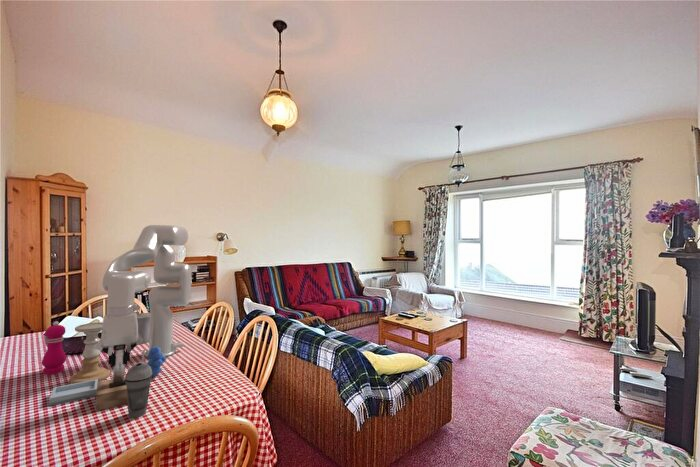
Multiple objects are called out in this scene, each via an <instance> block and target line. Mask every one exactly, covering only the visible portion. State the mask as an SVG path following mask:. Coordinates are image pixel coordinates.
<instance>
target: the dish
mask: <svg viewBox="0 0 700 467" xmlns="http://www.w3.org/2000/svg"><path fill="white" fill-rule="evenodd" d="M97 382H98V379H96V380H91V381H85V382H80V383H75V384H64V385H60V386H55V387H53V388H52V391H51V393H50V396H49V402H48V403H49V404H48V406H49V407H51V406H52V407H53V406H56V405H61V404H62V405H63V404H65V403H66V404H68V403H70V402H76V401H81V400H85V399H90V398H95V397H96V393H97Z"/></svg>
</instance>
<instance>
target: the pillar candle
mask: <svg viewBox="0 0 700 467" xmlns="http://www.w3.org/2000/svg"><path fill="white" fill-rule="evenodd" d="M136 314H137V320H138V334H139V335H140V336H141V338H142V339H143V342H142V343H140V344H139V345H142V344H147V343H149V334H150V312H141V313H136ZM130 344H132V343H130Z"/></svg>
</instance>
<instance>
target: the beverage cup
mask: <svg viewBox="0 0 700 467" xmlns="http://www.w3.org/2000/svg"><path fill="white" fill-rule="evenodd" d="M145 352H146V349H144V348H143V350H142V355H141V362H139V363H136V364H133V365H132V366H131V367H130V368H129V369H128V370H127V372H126V374H125V377H126V378H125V381H126V387H127V400H128V404H127V412H128V417H129V418H130V419H136V418H141V417H143V416H144V415H146V414H147V409H148V402H149V396H150V387H151V382H152V379H153V374H152V369H151V367H150V366H149V365H147V363H145V362H144V359H145Z"/></svg>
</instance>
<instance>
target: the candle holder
mask: <svg viewBox="0 0 700 467" xmlns="http://www.w3.org/2000/svg"><path fill="white" fill-rule="evenodd" d="M102 324H103V321H100V322H99V321H97V322H89V323H84V324H79V325H78V326H75V327H74V331H75V332H78V333H83V335H85V336H86V338H85V339H84V340H83V344H84V345H85V346H84V349H83V351H82V354H81V356H82V358H83V359H82V360H81V361H80V362H81V364H82V365H83V367H82V369H80V370H79V371H77V372H76V373H74V374H72V375H71V376H70V378H69V379H68V381H69V383H70V384H75V383H80V382H85V381H91V380H96V379H98V382H100V381H105V379H106V380H107V378H109V376H110V375H111V370H110V369H109V368H105V367H102V366H99V362H100V361H101V359H102V358H101V357H100V355H101V351H100V350H97V349H95V346H96V345H97V343H98V342H99V340H100V339H101V338H99V334H100V333H101V332H102ZM70 384H69V385H70Z"/></svg>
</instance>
